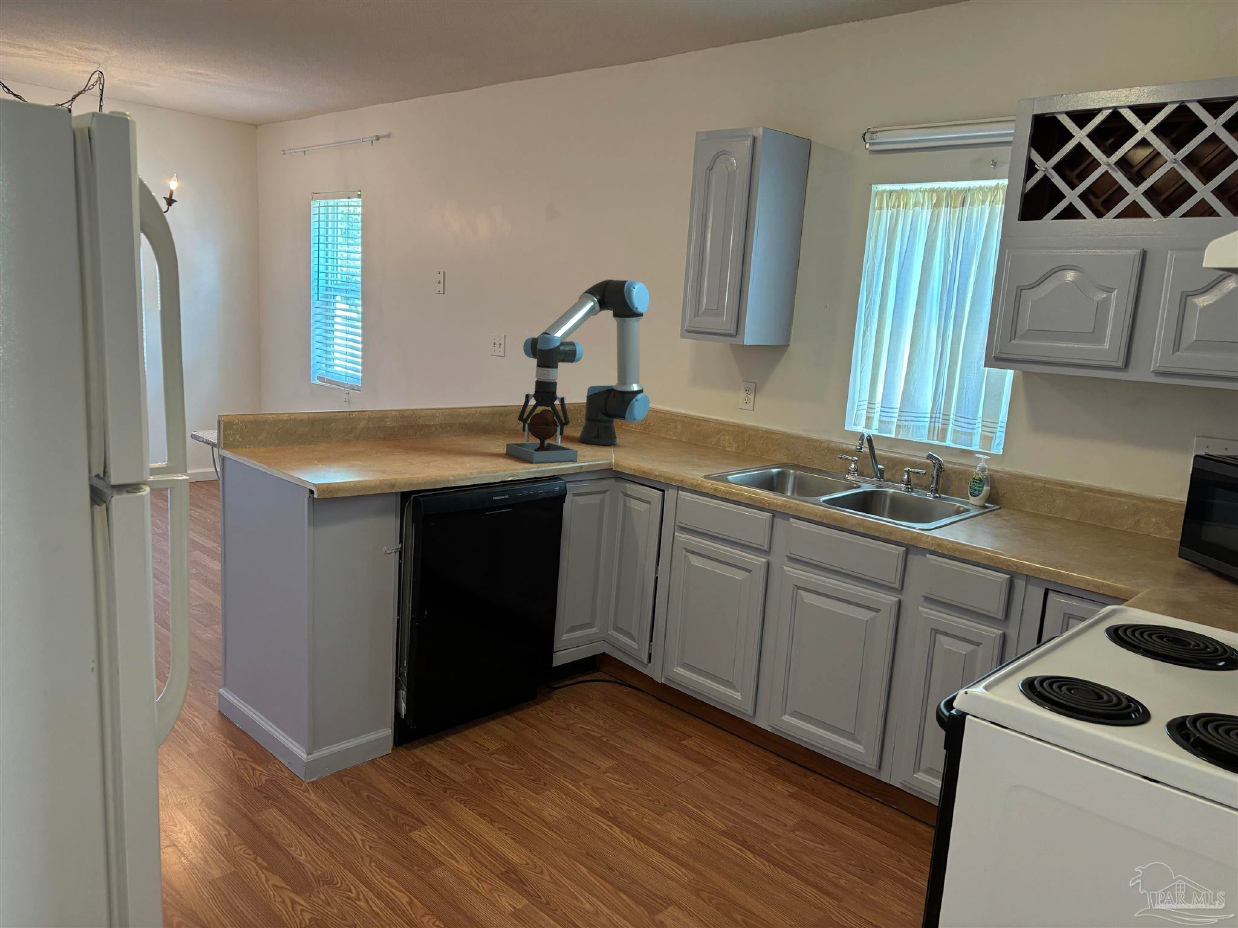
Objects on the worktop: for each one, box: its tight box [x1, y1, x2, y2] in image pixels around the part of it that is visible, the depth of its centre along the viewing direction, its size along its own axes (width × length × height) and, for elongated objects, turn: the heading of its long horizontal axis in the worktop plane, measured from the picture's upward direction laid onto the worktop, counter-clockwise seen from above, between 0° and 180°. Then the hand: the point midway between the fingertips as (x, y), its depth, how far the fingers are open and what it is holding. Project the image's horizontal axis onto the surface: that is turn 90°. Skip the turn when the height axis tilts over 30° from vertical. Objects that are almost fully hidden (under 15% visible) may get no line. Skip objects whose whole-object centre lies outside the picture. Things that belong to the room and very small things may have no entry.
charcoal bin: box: [505, 441, 579, 465], centre depth 307 cm, size 18×18×4 cm
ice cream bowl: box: [527, 408, 560, 452], centre depth 306 cm, size 11×11×15 cm
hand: (542, 443), depth 307 cm, fingers closed on ice cream bowl, 10 cm apart
